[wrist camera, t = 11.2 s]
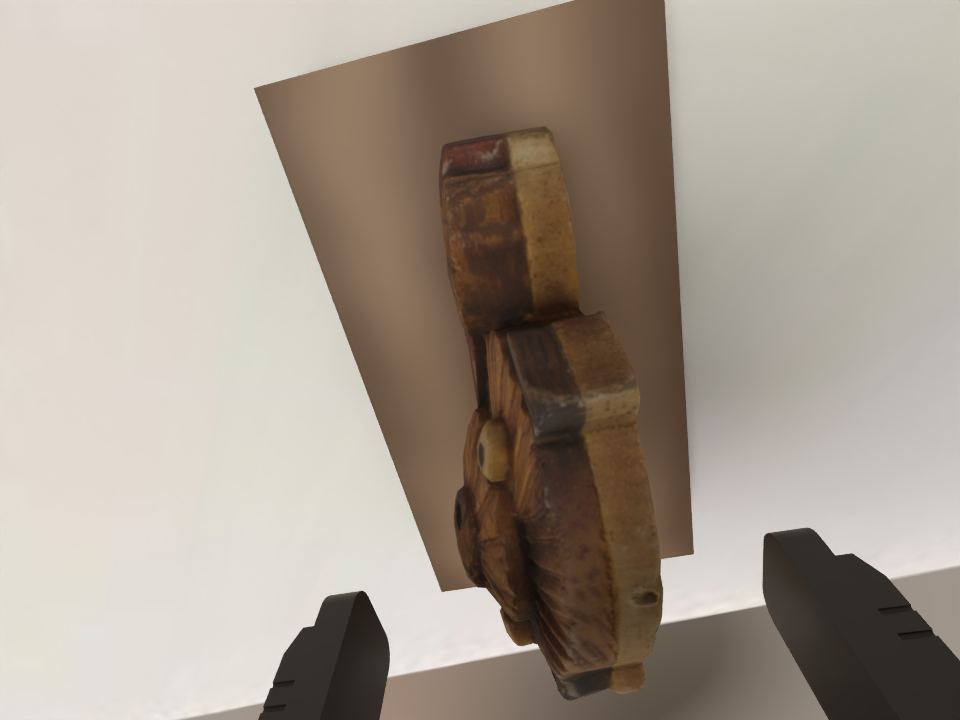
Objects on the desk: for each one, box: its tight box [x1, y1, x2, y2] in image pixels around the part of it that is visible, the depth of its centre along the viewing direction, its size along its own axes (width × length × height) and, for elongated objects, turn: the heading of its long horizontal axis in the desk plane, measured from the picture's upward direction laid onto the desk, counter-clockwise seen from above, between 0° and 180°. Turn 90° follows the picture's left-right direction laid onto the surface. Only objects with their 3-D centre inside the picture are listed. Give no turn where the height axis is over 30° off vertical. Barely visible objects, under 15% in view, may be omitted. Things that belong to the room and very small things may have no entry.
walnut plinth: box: [254, 0, 694, 592], centre depth 20 cm, size 12×22×4 cm, turn 13°
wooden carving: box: [439, 126, 663, 701], centre depth 14 cm, size 16×5×10 cm, turn 14°
